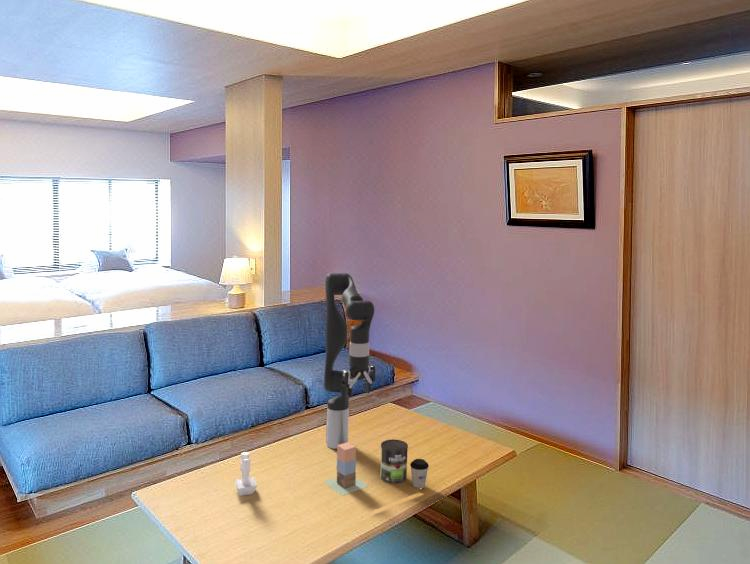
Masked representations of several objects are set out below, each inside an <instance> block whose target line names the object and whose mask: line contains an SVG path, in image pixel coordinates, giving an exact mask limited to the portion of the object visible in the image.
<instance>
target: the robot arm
mask: <svg viewBox="0 0 750 564" xmlns="http://www.w3.org/2000/svg"><path fill="white" fill-rule="evenodd" d="M324 284H325V285H324V286H325V287H324V289H325V306H326V307H325V308H326V309H325V310H326V312H325V314H326V315H325V318H326V319H325V362H324V363H325V364H324V373H323V374H324V375H323V386H324V391H326V392H329V393H339V394H340V395H338V396H335V397H332V398H329V399H328V400H327V402H326V403H327V404H326V405H327V406H326V410H327V412H326V414H327V415H326V417H327V420H326V423H325V443H326V447H328V448H329V449H332V450H333V449H334V450H337V445H340V444H343V443H347V442H349V420H350V419H349V414H350V413H349V411H350V410H349V409H350V407H349V406H350V398H352V397H353V388H352V387H353V386H354V384H356V382H357V381H360V380H364V381H365V382H364V385H365V386H364V392H365V393H366V394H370V393H371V391H372V389H371V388H372V383H373V382H375V381H376V379H377V377H376V366H374V365H372V364H370V329H371V325H372V321H373V319H374V315H375V306H374V303H373V302H372V301H371V300H363V297H362V295H360V294H359V292H358V290H357V288H356V285H355V283H354V280H353V277H352V276H351V275H350V273H346V272H341V273H340V272H339V273H338V272H335V273H333V272H332V273H327V275H326V277H325V282H324ZM335 296H341V300H342V303H343V305H344V306H345V315H346V317H347V319H349V320H351V321H362V322H360V323H358V324H356V325H352V326H351V327H350V331H349V332H350V334H349V337H350V338H349V347H348V349H349V352H348V354H349V356H348V358H349V359H348V364H349V369H348V370H344V369H343V370H336V369H335V370H334V364H335V362H336V360H337V358H338V356H339V355H340V354H341V352H342V350H343V349H344V348H345V346H346V345H347V341H348V324H347V321H346V319H345V318H344V316H343V315H342V314H341V312H340V311H339V308H338V307H337V304H336V300H335Z"/></svg>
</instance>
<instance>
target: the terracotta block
mask: <svg viewBox="0 0 750 564" xmlns="http://www.w3.org/2000/svg"><path fill="white" fill-rule="evenodd" d="M337 458H338V459H339V460H341V461H342V462H344V463H346V462H350V461H353V460H356V461H357V446H356V445H354V444H352V443H351V442H349V441H348V442H347V443H343V444H340V445H337V449H336V459H337Z"/></svg>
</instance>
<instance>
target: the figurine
mask: <svg viewBox="0 0 750 564" xmlns="http://www.w3.org/2000/svg"><path fill="white" fill-rule="evenodd" d="M250 456H251V455H250V452H248V451H243V452H241V453H240V462H239V463H240V471H241V478H237V479H234V480H233V481H234V484H235V485H234V486H235V487H236V491H237V493H238V494H239V496H240V497H241V496H249V495H253V494H254V492H255V491H256V489H257V487H258V484H257V482H256V478H255V476H250V472H251V459H250Z"/></svg>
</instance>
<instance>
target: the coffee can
mask: <svg viewBox="0 0 750 564" xmlns="http://www.w3.org/2000/svg"><path fill="white" fill-rule="evenodd" d="M380 447H381V448H380V476H379V477H380V479H381V480H382V481H383V482H384V483H387V484H395V485H396V484H400V483H404V482H405V481H407V480H406V479H407V473H408V472H407V471H408V451H409V450H408V448H409V445H408V443H407V442H405V441H403V440H401V439H387V440H386V439H385V440H384V441H382V442H381V443H380Z"/></svg>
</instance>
